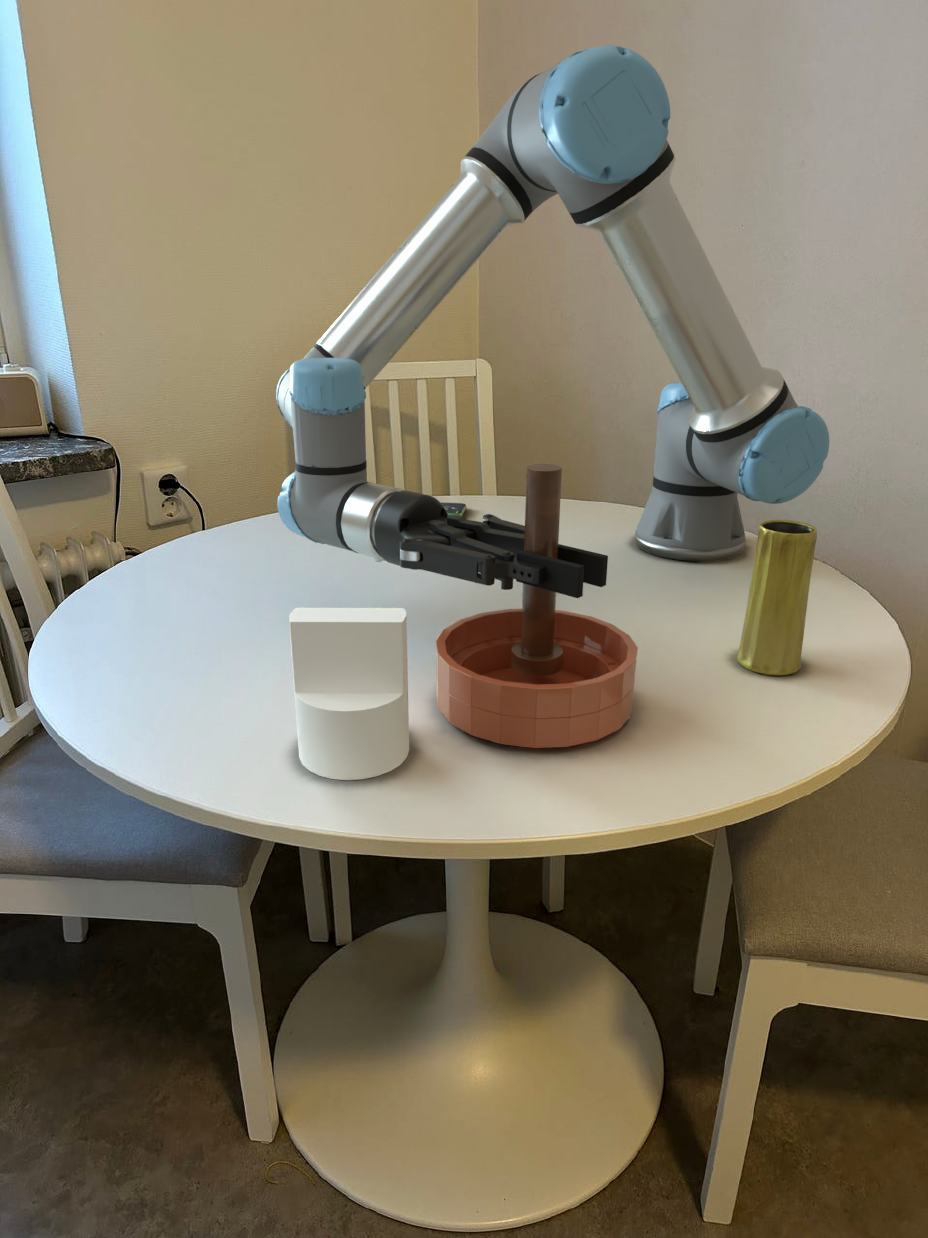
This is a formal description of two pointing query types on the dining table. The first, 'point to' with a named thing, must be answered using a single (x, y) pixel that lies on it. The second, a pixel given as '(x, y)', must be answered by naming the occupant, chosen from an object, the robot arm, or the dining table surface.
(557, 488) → the brown peg
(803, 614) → the vase
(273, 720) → the dining table surface
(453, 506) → the smartphone
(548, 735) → the bowl
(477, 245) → the robot arm
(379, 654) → the base with upright slab
